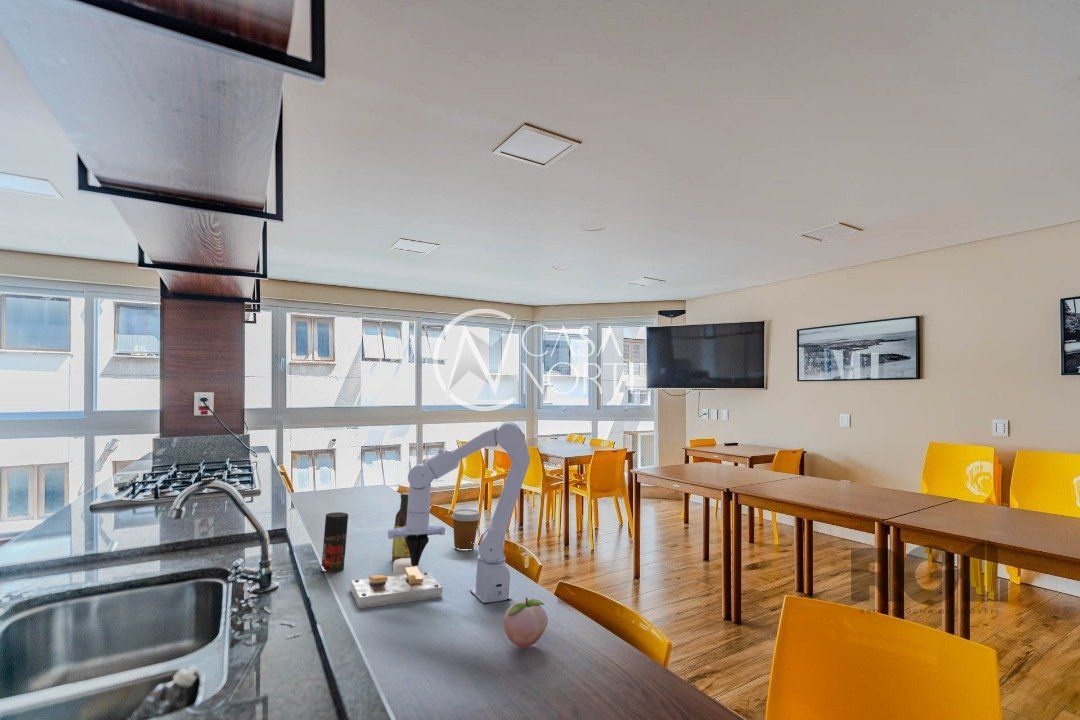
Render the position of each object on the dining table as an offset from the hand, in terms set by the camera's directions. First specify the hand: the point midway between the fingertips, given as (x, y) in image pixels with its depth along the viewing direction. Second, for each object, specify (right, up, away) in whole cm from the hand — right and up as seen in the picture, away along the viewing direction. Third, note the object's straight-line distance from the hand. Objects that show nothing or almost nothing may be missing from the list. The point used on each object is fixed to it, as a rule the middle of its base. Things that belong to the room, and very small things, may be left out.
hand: (414, 564), depth 135 cm
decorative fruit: (+29, -6, -28) cm, 41 cm away
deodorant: (-26, -6, +12) cm, 29 cm away
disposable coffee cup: (+7, -10, +39) cm, 41 cm away
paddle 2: (0, -3, 0) cm, 2 cm away
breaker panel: (-4, -6, -3) cm, 8 cm away
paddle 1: (-8, -2, -4) cm, 9 cm away
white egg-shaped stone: (-5, -7, +10) cm, 13 cm away
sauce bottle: (-9, -8, +23) cm, 26 cm away
